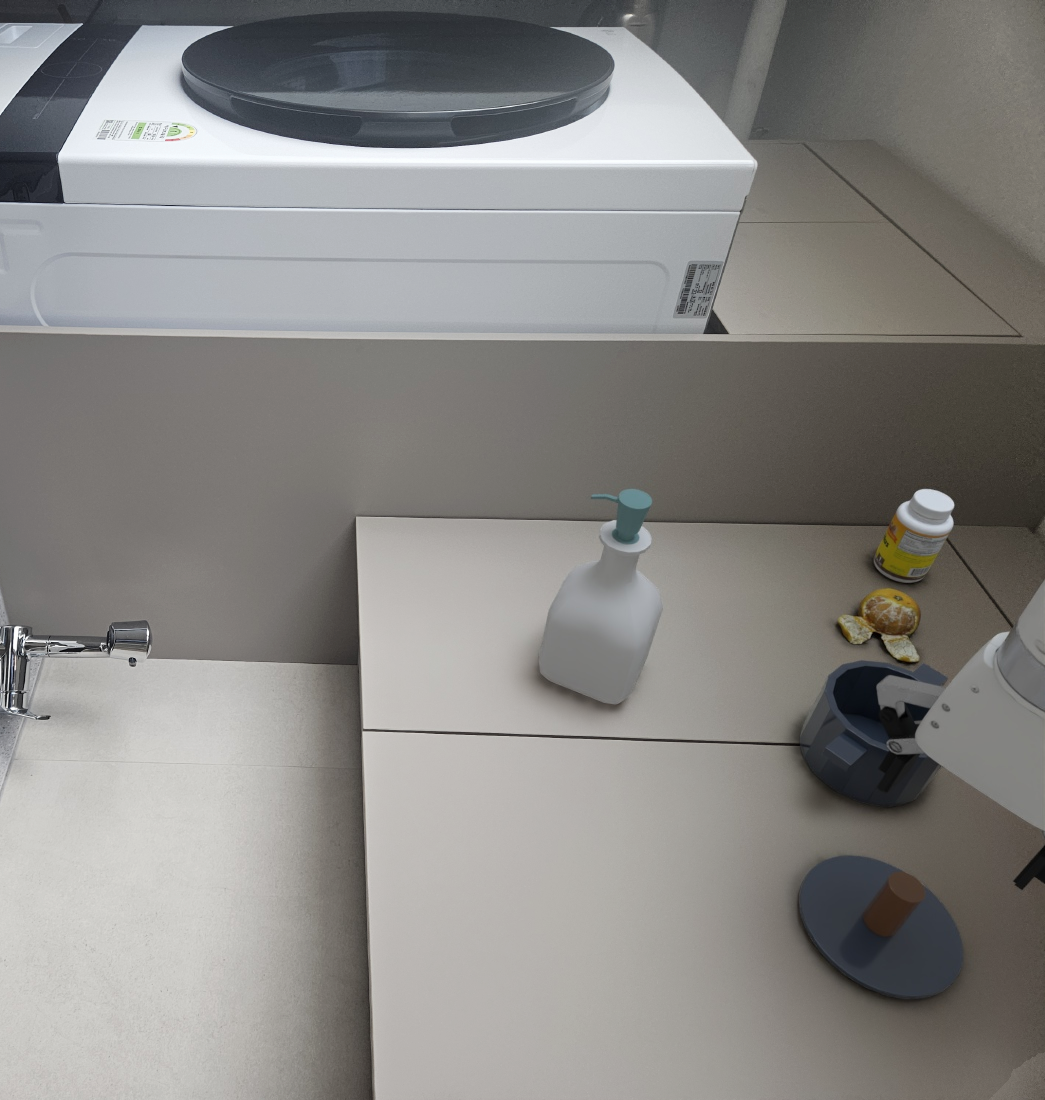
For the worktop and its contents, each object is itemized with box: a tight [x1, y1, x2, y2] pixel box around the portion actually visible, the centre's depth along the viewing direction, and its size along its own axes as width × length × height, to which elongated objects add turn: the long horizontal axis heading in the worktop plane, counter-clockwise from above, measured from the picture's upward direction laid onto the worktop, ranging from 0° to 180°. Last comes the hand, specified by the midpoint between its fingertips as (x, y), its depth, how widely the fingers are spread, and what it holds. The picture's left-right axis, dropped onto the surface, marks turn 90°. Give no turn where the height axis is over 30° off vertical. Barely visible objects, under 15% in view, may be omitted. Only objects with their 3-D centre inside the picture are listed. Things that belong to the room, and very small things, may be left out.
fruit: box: [837, 587, 922, 663], centre depth 102 cm, size 8×8×4 cm
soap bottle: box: [538, 488, 664, 705], centre depth 92 cm, size 10×10×23 cm
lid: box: [798, 854, 964, 1000], centre depth 76 cm, size 12×12×7 cm
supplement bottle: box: [873, 488, 955, 584], centre depth 107 cm, size 6×6×10 cm
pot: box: [799, 659, 949, 807], centre depth 88 cm, size 11×16×8 cm
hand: (956, 826), depth 69 cm, fingers open, 9 cm apart
